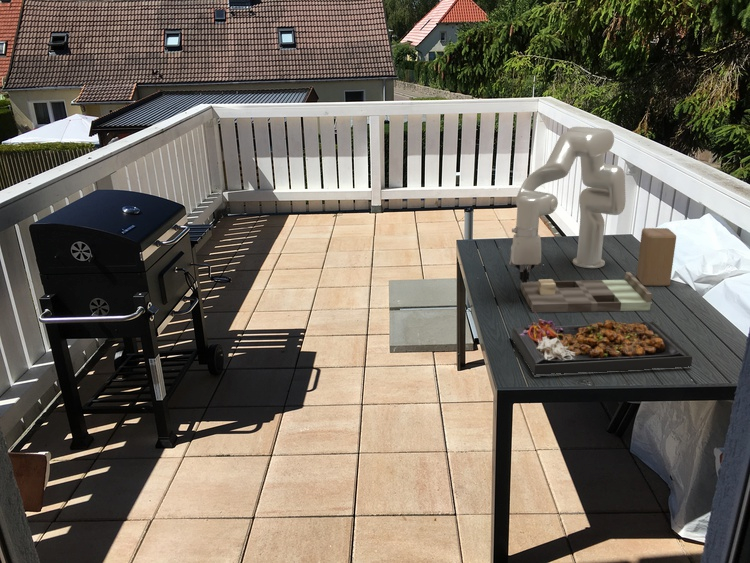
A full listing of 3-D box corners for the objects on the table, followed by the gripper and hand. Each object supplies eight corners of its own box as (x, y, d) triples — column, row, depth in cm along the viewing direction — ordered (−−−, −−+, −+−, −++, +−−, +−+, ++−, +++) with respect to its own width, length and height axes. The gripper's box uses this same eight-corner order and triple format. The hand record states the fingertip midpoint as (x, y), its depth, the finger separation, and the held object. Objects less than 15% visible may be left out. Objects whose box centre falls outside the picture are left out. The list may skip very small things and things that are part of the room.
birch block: (537, 289, 238) (538, 279, 236) (551, 289, 237) (552, 279, 236) (540, 295, 233) (541, 284, 231) (554, 294, 233) (555, 284, 231)
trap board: (520, 289, 247) (521, 274, 245) (627, 287, 245) (629, 271, 243) (532, 312, 226) (533, 296, 224) (649, 310, 225) (651, 294, 223)
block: (662, 277, 254) (668, 227, 247) (670, 286, 245) (677, 235, 238) (635, 277, 255) (641, 227, 248) (642, 286, 246) (649, 235, 239)
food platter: (533, 379, 184) (536, 346, 181) (511, 341, 207) (513, 311, 204) (690, 370, 186) (695, 337, 183) (651, 333, 209) (655, 304, 206)
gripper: (507, 234, 224) (504, 285, 230) (551, 234, 223) (547, 284, 230) (503, 229, 231) (501, 278, 237) (546, 228, 231) (542, 277, 237)
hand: (523, 281), depth 233 cm, fingers closed
